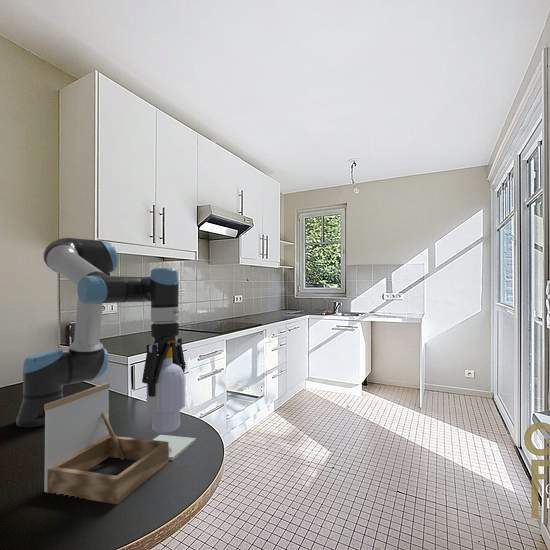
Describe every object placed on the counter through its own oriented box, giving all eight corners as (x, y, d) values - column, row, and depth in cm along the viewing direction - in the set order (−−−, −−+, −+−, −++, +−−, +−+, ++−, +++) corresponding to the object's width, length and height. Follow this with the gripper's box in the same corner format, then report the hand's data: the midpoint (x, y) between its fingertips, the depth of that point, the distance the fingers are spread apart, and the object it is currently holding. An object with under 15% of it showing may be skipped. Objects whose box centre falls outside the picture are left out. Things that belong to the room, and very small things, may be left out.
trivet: (133, 455, 93) (133, 452, 93) (160, 437, 104) (160, 434, 104) (173, 460, 89) (173, 457, 89) (196, 441, 101) (195, 438, 101)
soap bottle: (181, 434, 92) (180, 343, 93) (142, 436, 91) (141, 344, 93) (188, 420, 102) (187, 338, 104) (152, 422, 102) (152, 339, 103)
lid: (43, 492, 76) (44, 404, 77) (106, 453, 94) (106, 382, 95) (46, 492, 76) (47, 404, 77) (109, 453, 94) (109, 382, 95)
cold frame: (45, 492, 76) (46, 437, 77) (107, 454, 94) (107, 409, 94) (117, 504, 71) (117, 445, 72) (168, 461, 89) (168, 414, 89)
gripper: (151, 326, 86) (152, 416, 85) (196, 319, 108) (197, 390, 107) (126, 326, 89) (126, 414, 87) (175, 319, 110) (176, 389, 109)
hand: (165, 401), depth 97 cm, fingers closed on soap bottle, 10 cm apart
